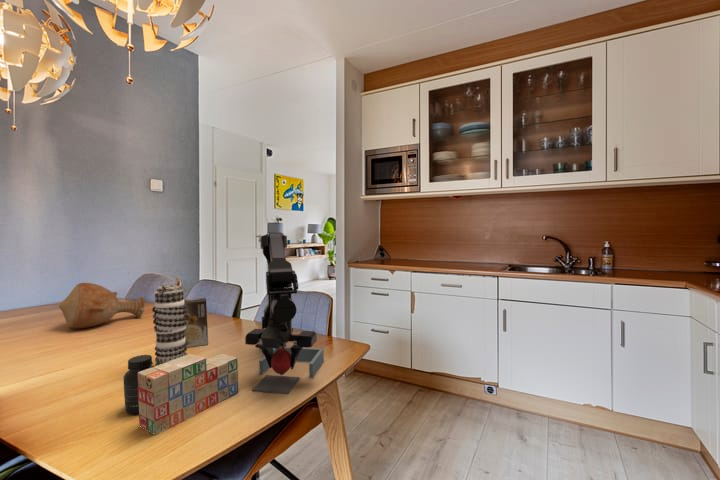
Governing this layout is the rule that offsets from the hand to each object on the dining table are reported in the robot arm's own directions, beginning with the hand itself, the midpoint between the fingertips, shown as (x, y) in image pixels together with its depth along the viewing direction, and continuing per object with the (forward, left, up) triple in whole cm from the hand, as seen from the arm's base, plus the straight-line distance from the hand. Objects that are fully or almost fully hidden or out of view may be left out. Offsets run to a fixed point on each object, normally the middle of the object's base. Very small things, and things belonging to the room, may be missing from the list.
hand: (281, 368), depth 96 cm
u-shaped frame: (0, +9, -4) cm, 9 cm away
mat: (-1, -2, -4) cm, 4 cm away
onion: (0, 0, -2) cm, 2 cm away
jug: (-97, +42, -4) cm, 106 cm away
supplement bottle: (-28, -18, -4) cm, 33 cm away
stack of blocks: (-15, -17, -4) cm, 23 cm away
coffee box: (-43, +24, -4) cm, 49 cm away
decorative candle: (-37, +4, -4) cm, 37 cm away
